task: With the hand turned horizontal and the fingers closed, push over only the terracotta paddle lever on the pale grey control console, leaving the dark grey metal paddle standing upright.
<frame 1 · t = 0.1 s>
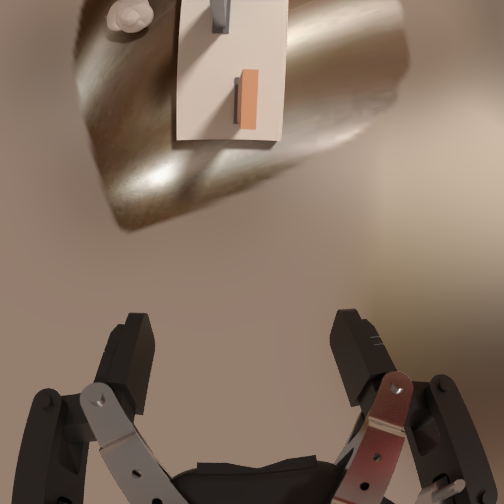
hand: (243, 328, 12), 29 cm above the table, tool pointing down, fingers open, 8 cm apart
dumpling: (133, 19, 25), on the table
terracotta paddle: (245, 99, 25), point 9 cm above the table, hinge at 0.0°
console: (231, 57, 29), on the table
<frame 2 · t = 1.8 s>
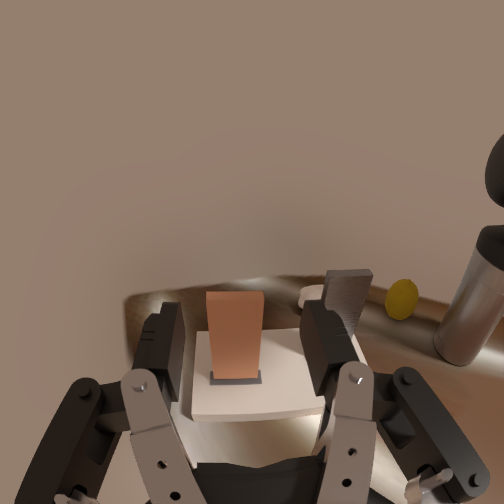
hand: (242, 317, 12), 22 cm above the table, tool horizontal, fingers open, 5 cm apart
dumpling: (311, 307, 46), on the table
terracotta paddle: (235, 341, 28), point 9 cm above the table, hinge at 0.0°
console: (282, 375, 34), on the table
lemon: (393, 319, 43), on the table
grey paddle: (338, 315, 31), point 9 cm above the table, hinge at 0.0°
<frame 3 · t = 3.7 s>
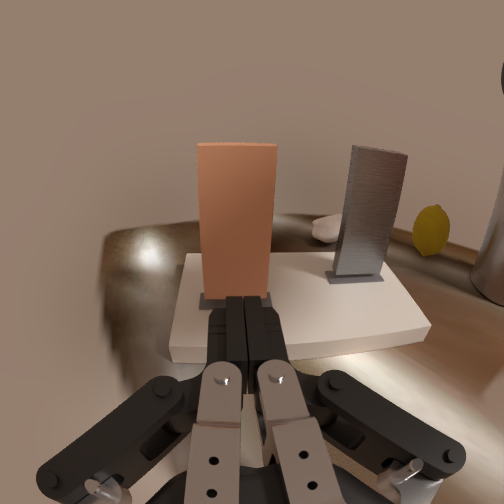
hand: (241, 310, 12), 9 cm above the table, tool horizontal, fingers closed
dumpling: (327, 241, 39), on the table
terracotta paddle: (235, 227, 20), point 9 cm above the table, hinge at 0.0°
console: (298, 305, 27), on the table
lemon: (422, 257, 36), on the table
grey paddle: (369, 214, 24), point 9 cm above the table, hinge at 0.0°
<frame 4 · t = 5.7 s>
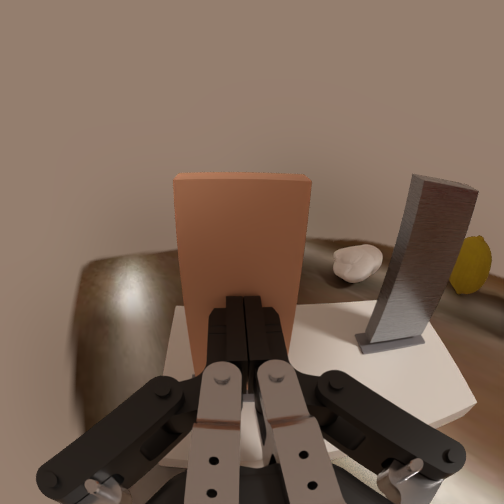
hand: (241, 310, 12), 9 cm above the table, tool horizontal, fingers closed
dumpling: (350, 277, 31), on the table
terracotta paddle: (240, 305, 13), point 9 cm above the table, hinge at 3.3°, touching gripper
console: (320, 380, 19), on the table
lemon: (457, 294, 28), on the table
grey paddle: (422, 268, 16), point 9 cm above the table, hinge at 0.0°
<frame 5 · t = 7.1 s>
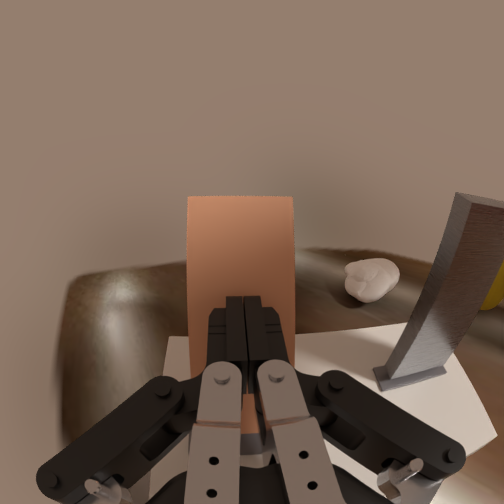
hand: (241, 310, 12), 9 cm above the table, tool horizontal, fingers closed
dumpling: (363, 294, 28), on the table
terracotta paddle: (241, 322, 13), point 8 cm above the table, hinge at 35.5°, touching gripper
console: (333, 420, 16), on the table
lemon: (473, 310, 25), on the table
grey paddle: (454, 299, 13), point 9 cm above the table, hinge at 0.0°
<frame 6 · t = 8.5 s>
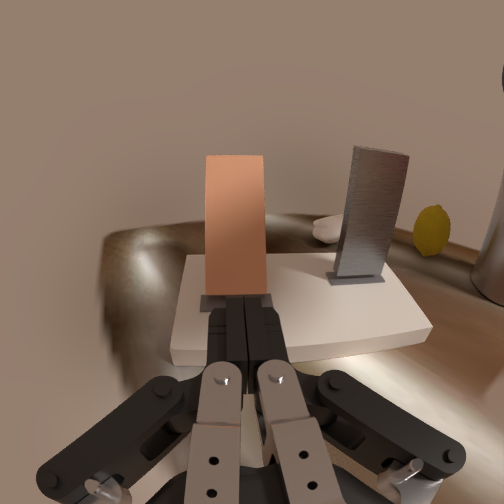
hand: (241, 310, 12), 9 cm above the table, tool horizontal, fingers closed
dumpling: (328, 241, 39), on the table
terracotta paddle: (235, 222, 24), point 8 cm above the table, hinge at 35.7°
console: (299, 306, 26), on the table
lemon: (423, 257, 36), on the table
grey paddle: (371, 215, 24), point 9 cm above the table, hinge at 0.0°
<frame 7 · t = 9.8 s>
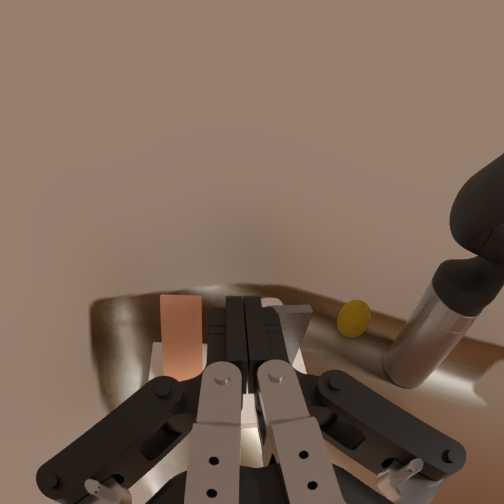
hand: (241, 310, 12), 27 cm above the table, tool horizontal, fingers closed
dumpling: (265, 319, 49), on the table
terracotta paddle: (182, 343, 33), point 8 cm above the table, hinge at 35.7°
console: (228, 387, 37), on the table
lemon: (345, 335, 47), on the table
grey paddle: (280, 342, 34), point 9 cm above the table, hinge at 0.0°
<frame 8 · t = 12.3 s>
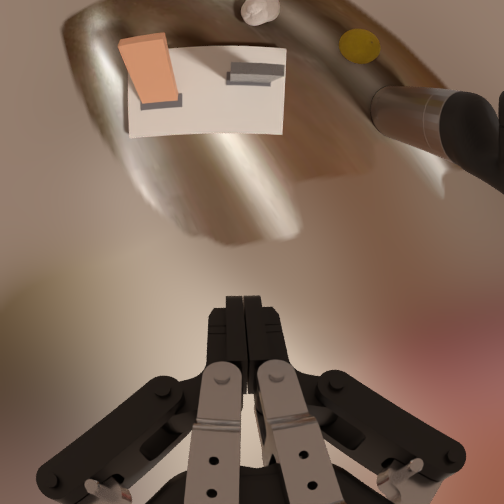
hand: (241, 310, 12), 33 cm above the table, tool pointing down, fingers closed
dumpling: (258, 10, 29), on the table
terracotta paddle: (151, 71, 27), point 8 cm above the table, hinge at 35.7°
console: (205, 89, 35), on the table
lemon: (347, 49, 33), on the table
grey paddle: (252, 74, 27), point 9 cm above the table, hinge at 0.0°
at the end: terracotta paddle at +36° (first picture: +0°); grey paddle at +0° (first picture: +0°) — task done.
